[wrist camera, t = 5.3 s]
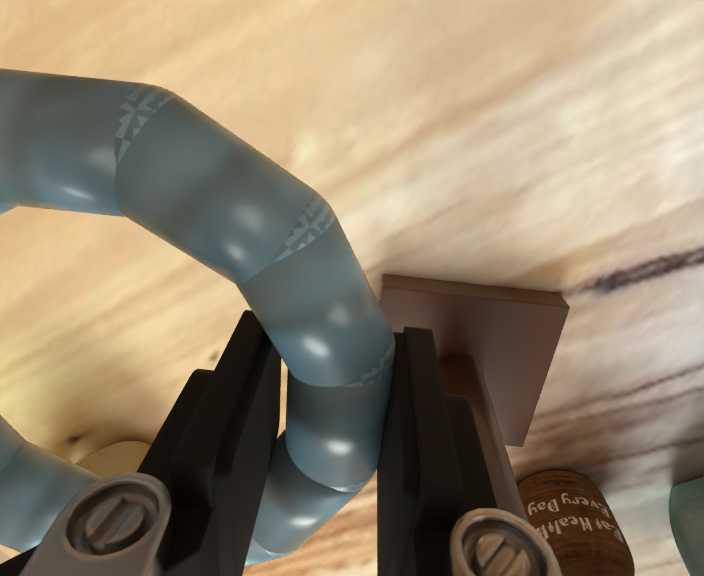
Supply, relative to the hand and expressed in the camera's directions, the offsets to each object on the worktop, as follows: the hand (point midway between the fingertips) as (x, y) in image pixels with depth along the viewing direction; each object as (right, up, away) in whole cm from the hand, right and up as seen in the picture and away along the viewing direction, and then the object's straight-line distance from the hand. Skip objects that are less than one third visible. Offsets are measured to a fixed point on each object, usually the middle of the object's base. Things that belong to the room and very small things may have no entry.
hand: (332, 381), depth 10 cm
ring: (-4, 0, -1) cm, 4 cm away
